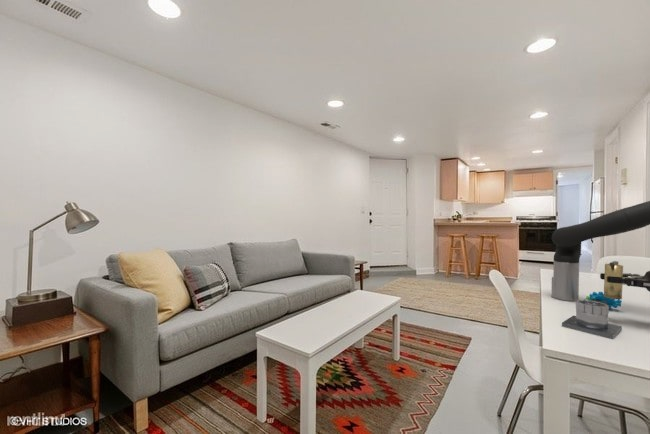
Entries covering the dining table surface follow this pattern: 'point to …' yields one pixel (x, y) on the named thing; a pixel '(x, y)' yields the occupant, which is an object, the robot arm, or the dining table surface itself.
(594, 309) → the pipe socket
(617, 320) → the dining table surface
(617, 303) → the gear
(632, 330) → the dining table surface
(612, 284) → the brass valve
